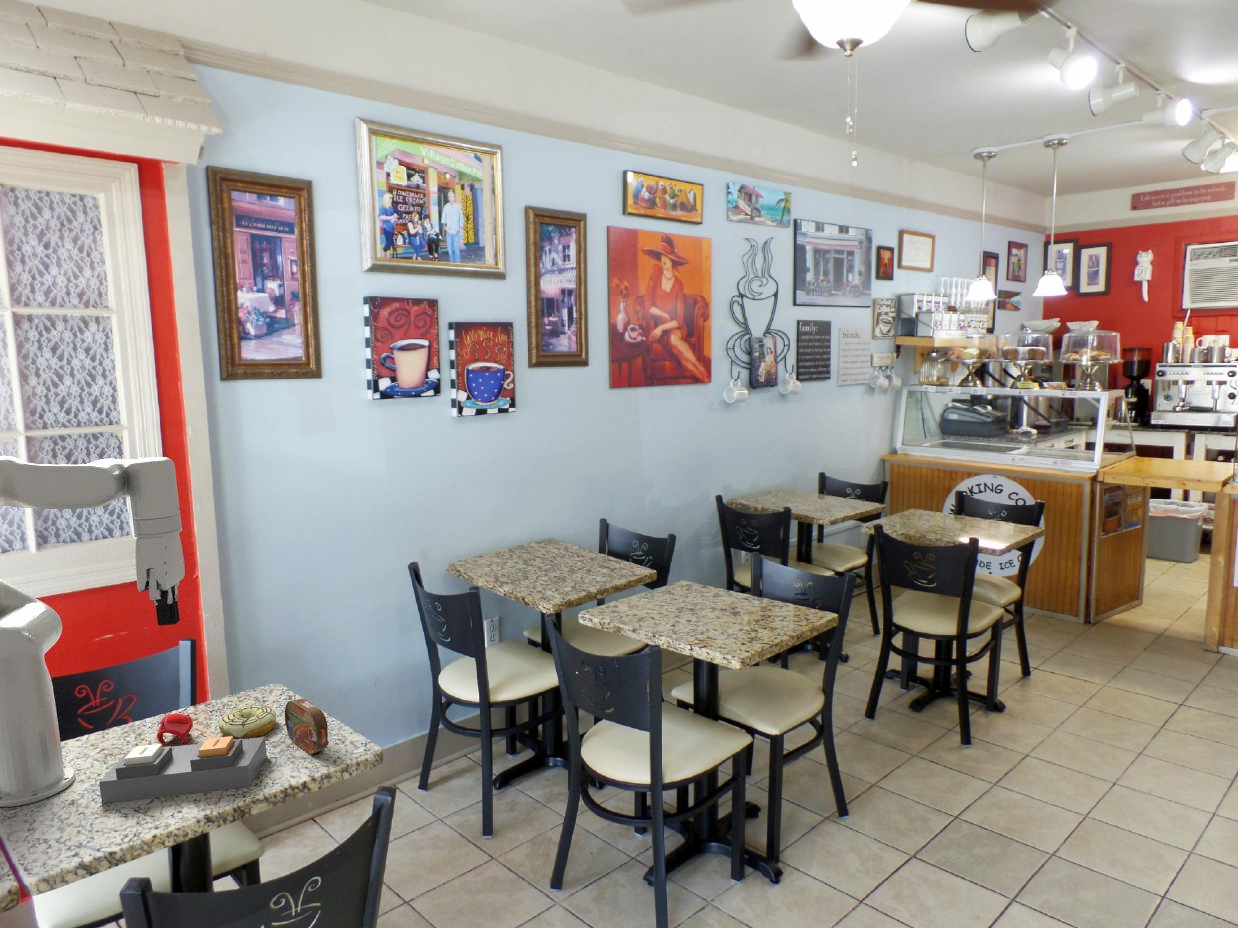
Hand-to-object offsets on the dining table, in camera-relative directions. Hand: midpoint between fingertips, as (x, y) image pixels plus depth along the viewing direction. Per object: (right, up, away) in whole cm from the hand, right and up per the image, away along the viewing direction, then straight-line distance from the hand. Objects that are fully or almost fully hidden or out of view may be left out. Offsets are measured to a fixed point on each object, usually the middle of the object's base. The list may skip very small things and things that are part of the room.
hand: (169, 623), depth 148 cm
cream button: (-1, -23, -6) cm, 24 cm away
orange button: (+11, -23, -5) cm, 26 cm away
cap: (-5, -26, +13) cm, 30 cm away
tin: (+22, -26, +9) cm, 35 cm away
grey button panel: (+5, -28, -3) cm, 28 cm away
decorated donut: (+7, -25, +17) cm, 31 cm away
